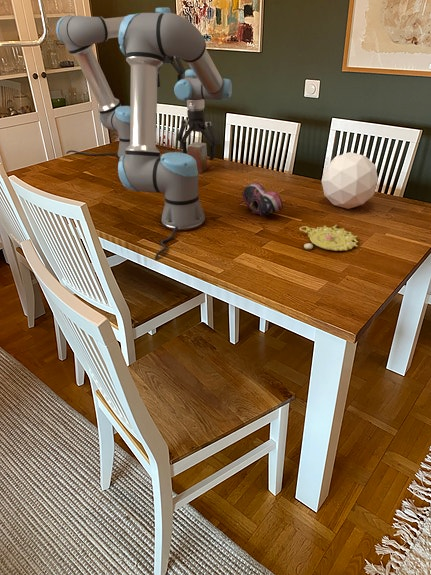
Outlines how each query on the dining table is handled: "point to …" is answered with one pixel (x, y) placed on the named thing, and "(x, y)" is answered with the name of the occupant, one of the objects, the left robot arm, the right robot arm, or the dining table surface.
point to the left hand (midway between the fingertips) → (169, 87)
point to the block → (199, 155)
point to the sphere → (349, 180)
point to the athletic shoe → (261, 200)
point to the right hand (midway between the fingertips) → (198, 158)
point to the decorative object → (330, 238)
